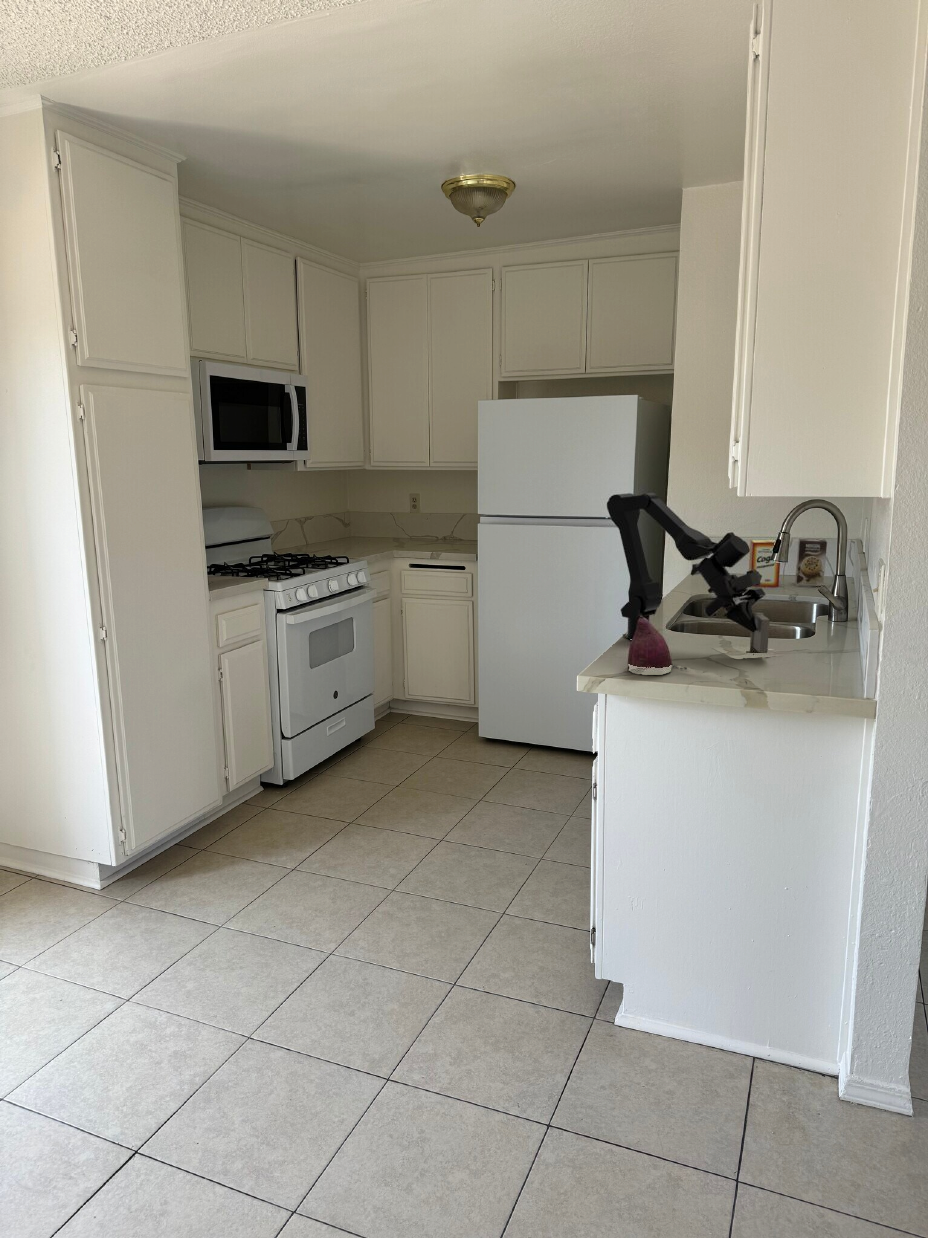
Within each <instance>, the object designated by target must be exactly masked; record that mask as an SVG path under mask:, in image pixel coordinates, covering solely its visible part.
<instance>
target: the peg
mask: <svg viewBox="0 0 928 1238" xmlns="http://www.w3.org/2000/svg"><path fill="white" fill-rule="evenodd" d="M752 614H753V617H754V621H755V624H756V627H757V630H756V631H755V632H752V631H750V640H749V641H750V643H749V645H750V652H752V653H767V652H775V649H774V648H769V634H770V619H769V618H768V617H766V616H765V615H764V613H763V612H752Z"/></svg>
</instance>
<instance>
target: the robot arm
mask: <svg viewBox="0 0 928 1238" xmlns="http://www.w3.org/2000/svg"><path fill="white" fill-rule="evenodd" d="M606 509H607V512H608V514H609V517H610V520H611V521H612V523H614V525H615V526H616V527H617V529H618V531H619V535H620V540H621V544H622V549H623V553H624V557H625V562H626V565H627V571H628V573H629V577H630V578H629V579H630V583H629V588H628V591H627V593H628V601H627V602H626V603H625V604H624V605H623V606H622V607H621V608H620V613H621V616H622V618H626V619H627V633H623V634H622V637H624V636H625V637H624V638H626V639H627V638H629V639H633V637H634V635H635V632H636V628H637V623H638V620H639V618H640V616H642V617H644V618H646V619H647V620H648V621H649V622H650V616H654V615H656V613H657V610H658V608H659V607H660V605H661V604H662V597H663V593H662V591H661V586H660V582H659V581H658V580H657V581H653V579H652V578H651V577H650V575H649V569H648V567H647V561H646V557H645V553H644V549H643V543H642V539H641V536H640V529H639V526H638V523H639V518H640V515H641V511H640V510H644V511H645V512H646V513H647V514H648V515H649V517H651V519H653V520H654V521H655V522H656V523H657V524H658V525H659V526H660V527H661V528H662V529H663V530H664V531H665V532H666V533H667V534H668V535H669V536H670V537H671V538H672V539H673V542H674V544H675V548H676V549H677V551H678V552H679V553H680V555H681V556H682V558H683V559H685V560H687V561H698V560H701V561H699V563H693V564H692V565H691V566H692V567H691V571H690V575H691V576H697V575H700V576H701V577H702V578H703V580H704V581H705V583H706V584H707V585H708V587H709V588H708V589H707V591H708V594H714V596H715V598H714V599H712V600H711V601H710V602H709V603H708V604H707V605H706V606H704V613H703V614H705V615H706V617H707V619H713V618H715V617H717V613H718V612H719V611H720V610H725V612H726V613H725V614H723V618H725V619H728V620H730V621H733V622H734V623H736V624H738V625H740V626H741V627H743V628H745V629H746V630H749V631H750V632H751V631H752V632H755V631H756V630H757V627H756V624H755V621H754V617H753V614H752V613H753V609H752V607H753V606H754V605H756V603H758V602H760V600H761V599H763V598H764V597H765V596H766V592H765V591H764V590H763V588H762V587H753V586H755V585H757V586H758V585H761V583H760V581H761V578H762V575H760V574H759V572H758V571H757V570H756V569H753V570H751V571H749V570H747V571H746V572H745V573H746V574H743V575H740V576H738V575H736V574H734V573H733V574H731V573H730V572H729V571H728V570H727V568H729V569H731V568H733V567H735V565H737V564H738V563H739V562H740V561H741V560H742V559H743V558H744V557H746V556H747V555H748V554H750V545H749V544H748V542H746V540H743V539H742V538H741V537H739V536H737V535H735V533H734V532H733V531H732V532H727V533H726V534H725V535H724V536H723V537H722V539H720V540H719V541H718V542H716V541H715V542H714V541H712V539H711V538H710V537H708V536H707V535H706V534H704V533H703V532H701V531H700V530H697V529H695V528H693V527H690V526H689V525H688V524H686V523H685V522H684V520H682V519H681V518H680V517H679V516H678V515H677V514H676V513H675V512H674V511H673V510H672V509H671V508H670V507H669V506H668V505H667V504H665V502H664V501H663V500H662V499H660V496H659V495H658V494H656V493H655V492H648V493H643V494H640V495H636V494H634V493H630V492H628V493H618V494H613V495H611V496H610V497H609V498H608V501H607V502H606ZM751 587H753V588H751ZM748 588H749V589H748ZM626 634H627V635H626ZM629 639H628V640H629Z"/></svg>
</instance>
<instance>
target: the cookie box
mask: <svg viewBox="0 0 928 1238" xmlns="http://www.w3.org/2000/svg"><path fill="white" fill-rule="evenodd" d="M797 543H798V545H797V558H796V559H797V560H796V566H795V567H796V569H795V579H794V583H795V586H796V587H811V586H820V585H823V586H824V581H825V571H826V559H827V547H828V541H827V540H826V539H811V538H803V539H802V538H798V542H797Z"/></svg>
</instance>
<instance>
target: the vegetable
mask: <svg viewBox="0 0 928 1238" xmlns="http://www.w3.org/2000/svg"><path fill="white" fill-rule="evenodd" d="M672 661H673V660H672V656H671V652H670V648H669V646H668V644H667V642H666V639H665V638H664V636H663V635H662V634H661V633H660V632H659V630H657V629H656V628H655V626H654V625H652V623H651V621H650V620H649V621H648V620H647V619H646V618H644V617H642V616H640V618H639V620H638V623H637V628H636V632H635V635H634V637H633V639H632V641H631V642H630V645H629V649H628V656H627V665H628V664H630V665H633V666H637V667H646V668H647V667H648V668H649V667H650V668H651V667H655V668H663V667H669V666H670V665H672V666H673V663H672Z"/></svg>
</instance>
